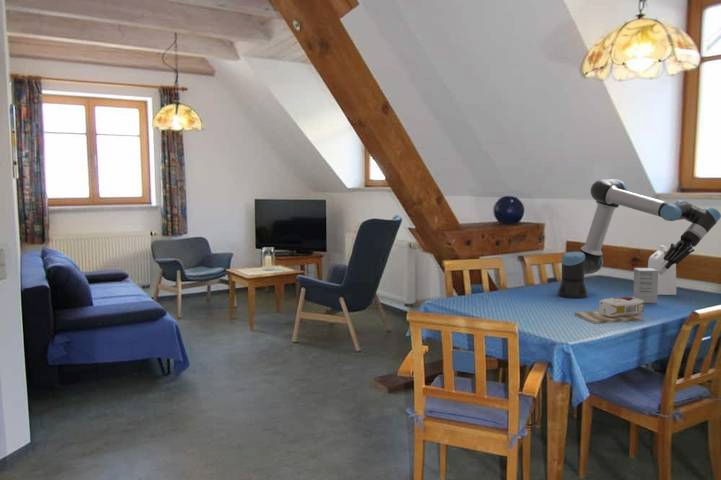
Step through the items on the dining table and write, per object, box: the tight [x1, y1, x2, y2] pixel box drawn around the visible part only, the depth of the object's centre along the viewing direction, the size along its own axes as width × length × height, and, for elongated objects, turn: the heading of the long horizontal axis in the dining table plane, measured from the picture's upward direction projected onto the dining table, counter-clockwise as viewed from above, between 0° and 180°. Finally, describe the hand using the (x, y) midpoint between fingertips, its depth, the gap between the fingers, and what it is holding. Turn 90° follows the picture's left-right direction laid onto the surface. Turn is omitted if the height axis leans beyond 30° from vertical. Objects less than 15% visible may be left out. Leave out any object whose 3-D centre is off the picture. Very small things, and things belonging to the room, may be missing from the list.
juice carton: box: [598, 296, 645, 317], centre depth 255 cm, size 8×9×19 cm
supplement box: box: [632, 267, 658, 304], centre depth 286 cm, size 10×9×17 cm
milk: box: [647, 244, 677, 296], centre depth 306 cm, size 12×12×26 cm
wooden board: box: [574, 310, 645, 324], centre depth 255 cm, size 24×16×1 cm, turn 100°
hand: (659, 272), depth 258 cm, fingers closed
